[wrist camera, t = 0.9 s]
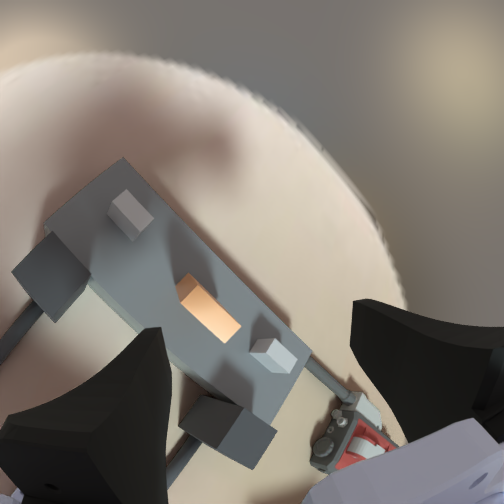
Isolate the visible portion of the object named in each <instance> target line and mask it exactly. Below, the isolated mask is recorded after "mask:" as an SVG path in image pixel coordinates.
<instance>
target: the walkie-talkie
mask: <svg viewBox="0 0 504 504" xmlns="http://www.w3.org/2000/svg"><path fill="white" fill-rule="evenodd" d="M304 367H305V368H306V369H308V370H309V371H310V372H311V373H312V374H313V375H314V376H315V377H317V378H318V379H319V380H320V381H321V382H322V383H323V384H325V385H326V386H327V387H328V388H329V389H330V390H331V391H333V392H334V393H335V394H336V395H337V396H338V397H339V398H340V400H341V401H342V402H343V404H342V406H341V408H340V410H337V409H335V410H333V412H332V414H331V415H332V416H333V418H332V420H331V422H330V424H329V426H328V428H327V430H326V432H325V434H324V436H323V438H320V439H319V440H318V441H317V442H316V443H315V444H314V447H313V451H314V454H313V456H312V458H311V459H310V464H311V466H313V467H315V468H317V470H319V471H321V472H323V473H326V474H328V475H330V474H331V473H333V472H335V471H338V470H340V469H343V468H345V467H347V466H349V465H352V464H354V463H356V462H359V461H362V460H365V459H368V458H371V457H374V456H377V455H380V454H383V453H385V452H388V451H391V450H393V449H396V448H399V446H398V445H397V444H396V443H394V441H392V440H390V438H388V437H387V436H386V435H384V433H382V431H381V429H382V423H381V416H380V411H379V409H378V408H377V407H375V406H374V405H373V404H372V403H371V402H370V401H369V400H368V399H367V398H366V395H365V394H364V393H363V392H354V391H350V390H346V389H345V388H344V387H343V386H342V385H341V384H340V383H339V382H338V381H337V380H335V379H334V378H333V377H332V376H331V375H330V374H329V373H328V372H327V371H326V370H325V369H324V368H323V367H321V366H320V365H319V364H318V363H317V362H316V361H315V360H314V359H313V358H312V357H311V356H310V357H309V358H308V360H307V362H306V364H305V366H304Z"/></svg>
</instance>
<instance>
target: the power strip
mask: <svg viewBox="0 0 504 504" xmlns="http://www.w3.org/2000/svg"><path fill="white" fill-rule="evenodd" d="M44 231H45V237H46V236H47V235H48V234H49V233H50V232H51V231H53V232H54V233H55V234H56V235H57V236H58V237H59V239H60V240H61V241H62V242H63V243H64V244H65V245H66V247H67V248H68V249H69V250H70V251H71V252H72V253H73V254H74V255H75V256H76V258H77V259H78V260H79V261H80V262H81V263H82V264H83V265H84V266H85V267H86V268H87V269H88V270H89V272H90V273H91V277H90V279H89V281H88V283H87V284H88V285H89V286H90V288H91V289H92V290H93V291H94V292H95V293H96V294H97V295H98V296H99V297H100V298H101V299H102V300H103V301H104V302H105V303H106V304H107V305H108V306H109V307H110V308H111V309H113V310H114V311H115V312H116V313H117V314H118V315H119V316H120V317H121V318H122V319H123V320H124V321H125V322H126V323H127V324H128V325H129V326H130V327H132V328H133V329H134V330H135V331H136V332H137V333H138V334H139V333H140V332H141V331H142V330H143V329H145V328H152V327H161V328H162V333H163V337H164V342H165V346H166V351H167V355H168V359H169V361H170V362H171V363H173V364H174V365H175V366H176V367H177V368H179V369H180V370H181V371H182V372H184V373H185V374H186V375H187V376H189V377H190V378H191V379H192V380H194V381H195V382H196V383H197V384H199V385H200V386H201V387H202V388H204V389H205V390H206V391H208V392H209V393H210V394H212V395H213V396H214V397H216V398H217V399H218V400H220V401H223V402H227V403H230V404H234V405H237V406H241V407H244V408H246V409H247V410H248V411H250V412H251V413H253V414H254V415H255V416H257V417H258V418H260V419H261V420H263V421H264V422H265V423H267V424H268V425H270V424H271V423H272V421H273V419H274V418H275V416H276V414H277V413H278V411H279V409H280V408H281V406H282V404H283V403H284V401H285V399H286V398H287V396H288V394H289V392H290V391H291V389H292V387H293V385H294V384H295V382H296V380H297V378H298V377H299V375H300V373H301V371H302V369H303V368H304V366H305V364H306V362H307V360H308V358H309V357H310V355H311V353H312V350H311V349H310V348H309V347H308V346H307V345H306V344H305V343H304V342H303V341H302V340H301V339H300V338H299V337H298V336H297V335H296V334H295V333H294V332H293V331H292V330H291V329H289V328H288V327H287V326H286V325H285V324H284V323H283V322H282V321H281V320H280V319H279V318H278V317H277V316H276V315H275V314H274V313H273V312H272V311H271V310H270V309H269V308H268V307H267V306H266V305H265V304H264V303H263V302H262V301H261V300H260V299H259V298H258V297H257V296H256V295H255V294H254V293H253V292H252V291H251V290H250V289H249V288H248V287H247V286H246V285H245V284H244V283H243V282H242V281H241V280H240V279H239V278H238V277H237V276H236V275H235V274H234V273H233V272H232V271H231V270H230V269H229V268H228V267H227V266H226V264H225V263H224V262H223V261H222V260H221V259H220V258H219V257H218V256H217V255H216V254H215V253H214V252H213V251H212V250H211V249H210V248H209V247H208V246H207V245H206V244H205V243H204V242H203V241H202V240H201V239H200V238H199V237H198V236H197V235H196V234H195V233H194V232H193V231H192V230H191V229H190V227H189V226H188V225H187V224H186V223H185V222H184V221H183V220H182V219H181V218H180V217H179V216H178V215H177V214H176V213H175V212H174V211H173V210H172V209H171V208H170V207H169V206H168V204H167V203H166V202H165V201H164V200H163V199H162V198H161V197H160V196H159V195H158V194H157V193H156V192H155V191H154V190H153V189H152V188H151V187H150V185H149V184H148V183H147V182H146V181H145V180H144V179H143V178H142V177H141V176H140V175H139V174H138V173H137V172H136V171H135V169H134V168H133V167H132V166H131V165H130V164H129V163H128V162H127V161H126V160H125V159H124V158H121V159H120V160H119V161H117V162H116V163H115V164H113V165H112V166H111V167H109V168H108V169H107V170H106V171H104V172H103V173H102V174H100V175H99V176H98V177H97V178H95V179H94V180H93V181H92V182H90V183H89V184H88V185H87V186H85V187H84V188H83V189H82V190H81V191H79V192H78V193H77V194H76V195H75V196H73V197H72V198H71V199H70V200H69V201H68V202H66V203H65V204H64V205H63V206H62V207H61V208H60V209H58V210H57V211H56V212H55V213H54V214H53V215H52V216H51V217H50V218H48V219H47V220H46V221H45V222H44ZM188 273H190V274H191V275H192V276H193V277H194V278H195V279H196V280H197V281H198V282H199V283H200V284H201V285H202V286H203V287H204V288H205V289H206V290H207V291H208V292H209V293H210V294H211V295H212V296H213V297H214V298H215V299H216V300H217V301H218V302H219V303H220V304H221V305H222V306H223V307H224V308H225V309H226V310H227V311H228V312H229V313H230V314H231V315H232V317H233V318H234V319H235V320H236V321H237V322H238V323H239V324H240V325H241V328H240V329H239V330H238V331H237V332H236V333H235V334H234V335H233V336H232V337H231V338H230V339H229V340H228V341H227V342H226V343H223V342H222V341H221V340H220V339H219V338H218V337H217V336H216V335H214V334H213V333H212V332H211V331H210V330H209V329H208V328H207V327H206V326H204V325H203V324H202V323H201V322H200V321H199V320H198V319H197V318H196V317H195V316H194V315H193V314H191V313H190V312H189V311H188V310H187V309H186V308H185V307H184V306H183V305H182V304H181V303H180V301H179V297H178V294H177V291H176V288H175V286H176V285H177V284H178V283H179V282H180V281H181V280H182V279H183V278H184V277H185V276H186V275H187V274H188Z"/></svg>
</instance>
